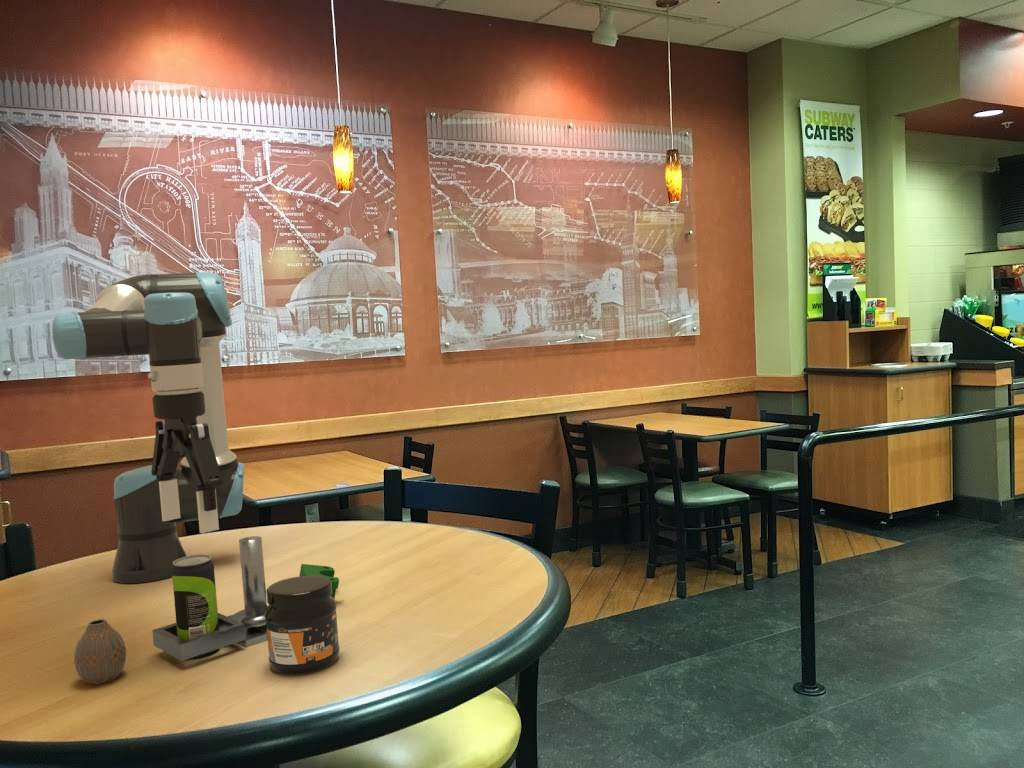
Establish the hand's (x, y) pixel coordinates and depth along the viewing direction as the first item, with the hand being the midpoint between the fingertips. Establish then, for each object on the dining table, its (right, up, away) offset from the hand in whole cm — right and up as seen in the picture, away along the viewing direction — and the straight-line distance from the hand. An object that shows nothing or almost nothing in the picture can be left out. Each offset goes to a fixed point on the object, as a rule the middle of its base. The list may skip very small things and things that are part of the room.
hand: (189, 525), depth 129 cm
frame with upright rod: (+5, -20, +4) cm, 21 cm away
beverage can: (+1, -21, +1) cm, 21 cm away
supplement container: (+20, -20, -6) cm, 29 cm away
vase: (-10, -22, -7) cm, 25 cm away
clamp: (+15, -18, +24) cm, 34 cm away
